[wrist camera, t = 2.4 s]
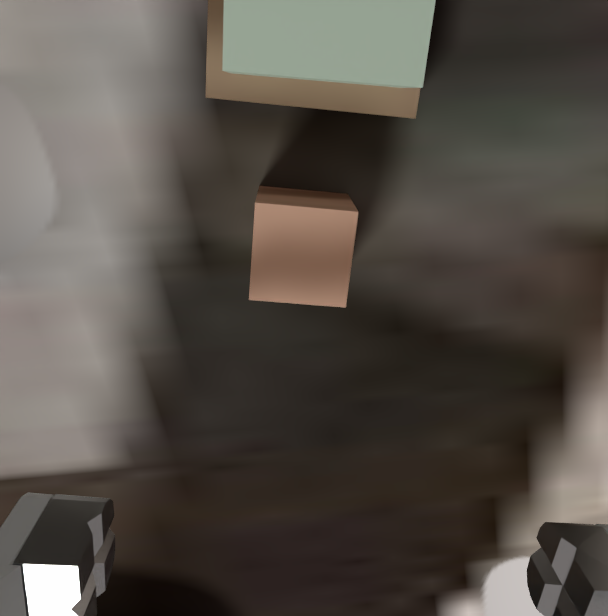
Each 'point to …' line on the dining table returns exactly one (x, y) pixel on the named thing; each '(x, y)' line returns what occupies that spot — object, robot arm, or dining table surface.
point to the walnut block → (298, 84)
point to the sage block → (329, 40)
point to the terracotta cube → (302, 246)
